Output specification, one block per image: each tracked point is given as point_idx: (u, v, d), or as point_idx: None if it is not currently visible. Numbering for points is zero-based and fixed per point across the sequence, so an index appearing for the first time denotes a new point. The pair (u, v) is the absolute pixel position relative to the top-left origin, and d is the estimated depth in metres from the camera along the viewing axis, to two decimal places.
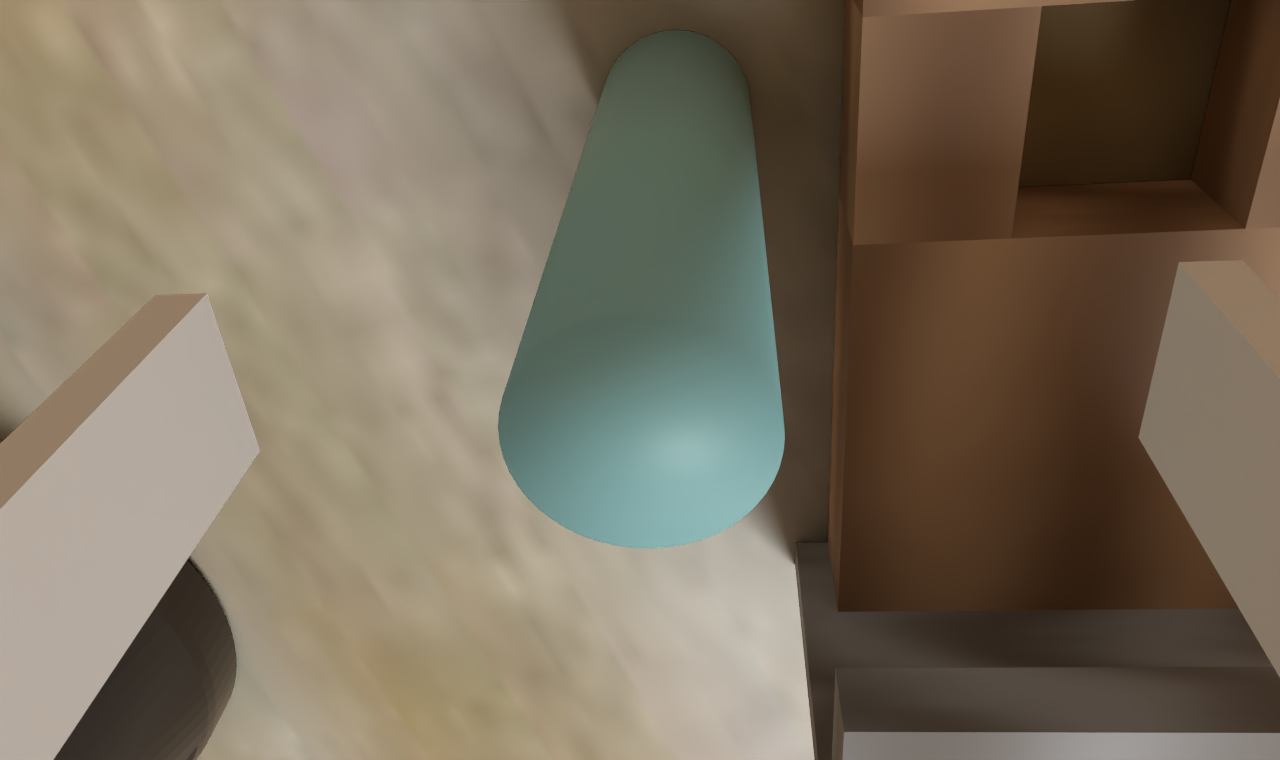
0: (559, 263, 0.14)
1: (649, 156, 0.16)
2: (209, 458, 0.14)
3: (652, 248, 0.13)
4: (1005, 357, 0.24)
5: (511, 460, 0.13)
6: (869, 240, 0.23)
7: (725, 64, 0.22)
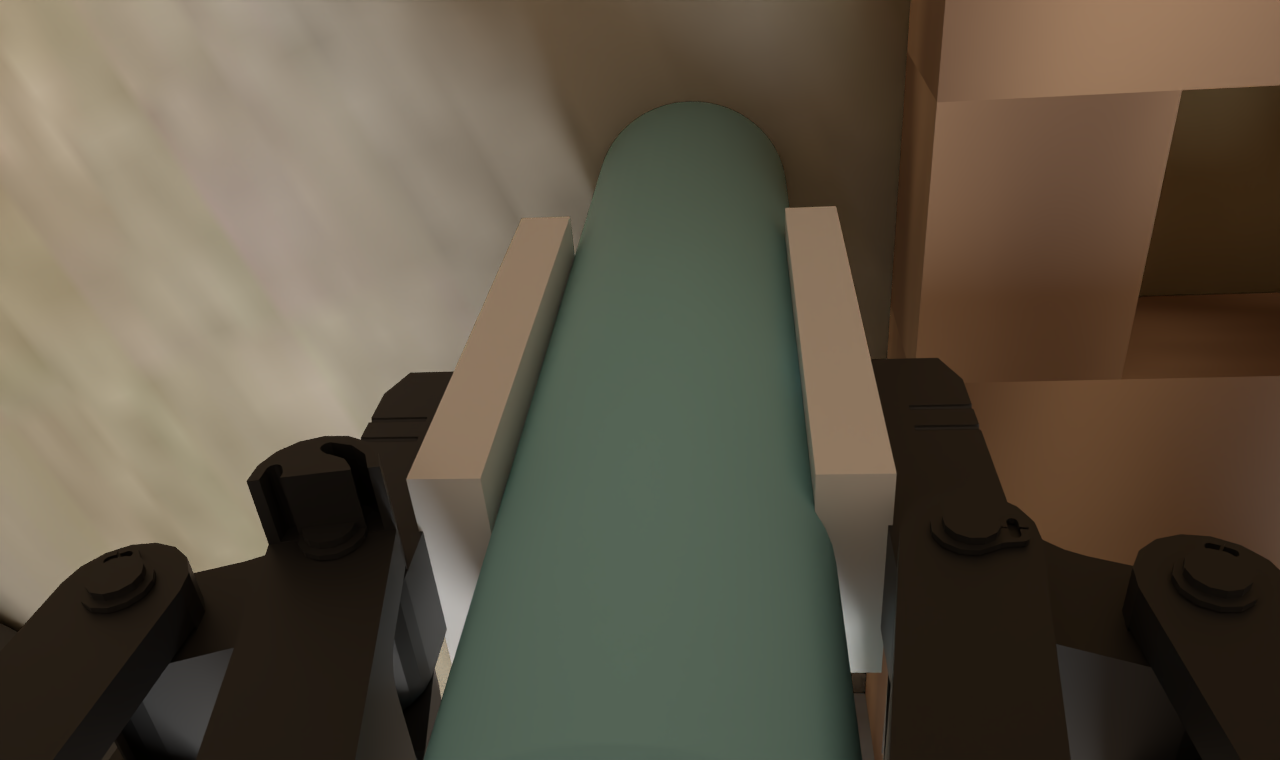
0: (511, 548, 0.09)
1: (654, 336, 0.11)
2: None
3: (656, 556, 0.08)
4: (1103, 518, 0.19)
5: None
6: None
7: (757, 151, 0.17)
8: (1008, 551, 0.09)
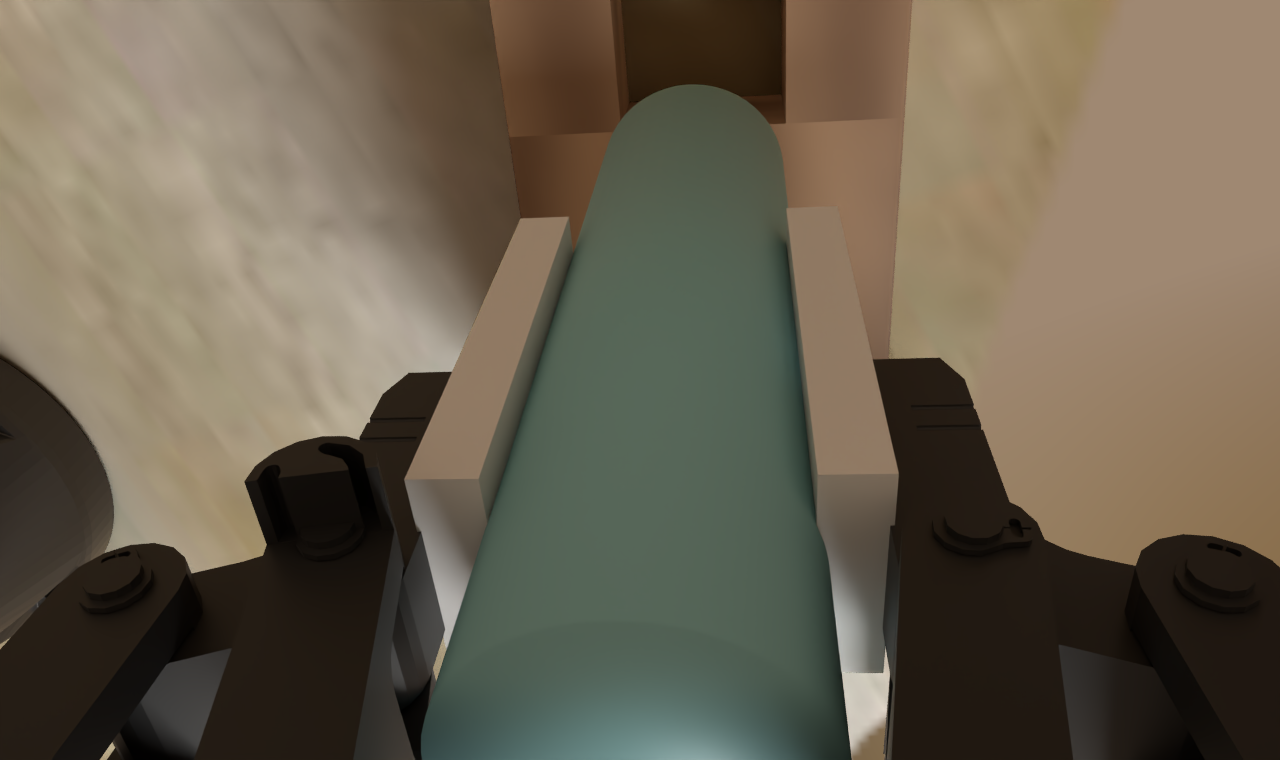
0: (523, 472, 0.10)
1: (655, 290, 0.12)
2: None
3: (655, 474, 0.09)
4: None
5: None
6: (520, 133, 0.31)
7: (755, 131, 0.18)
8: (1011, 551, 0.09)
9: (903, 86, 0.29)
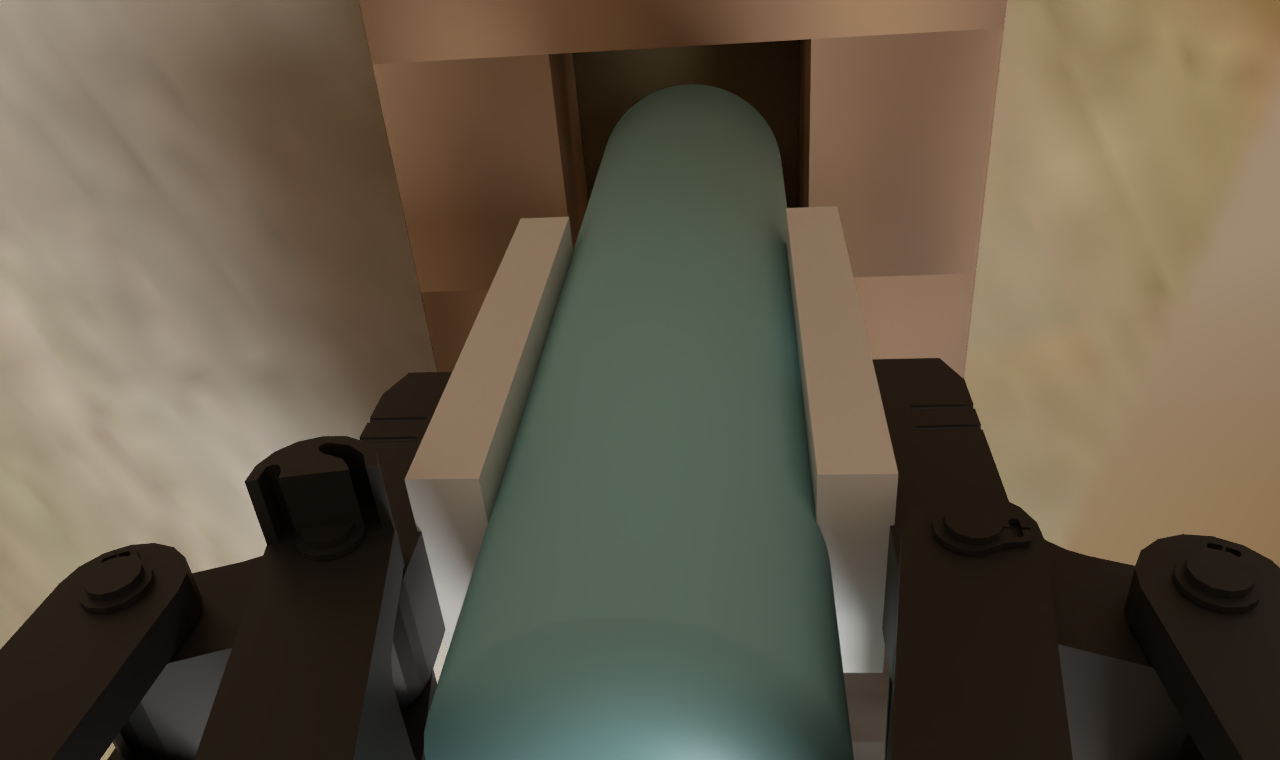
0: (525, 470, 0.10)
1: (655, 289, 0.12)
2: None
3: (656, 471, 0.09)
4: None
5: None
6: (435, 287, 0.22)
7: (753, 130, 0.18)
8: (1010, 551, 0.09)
9: (976, 232, 0.21)
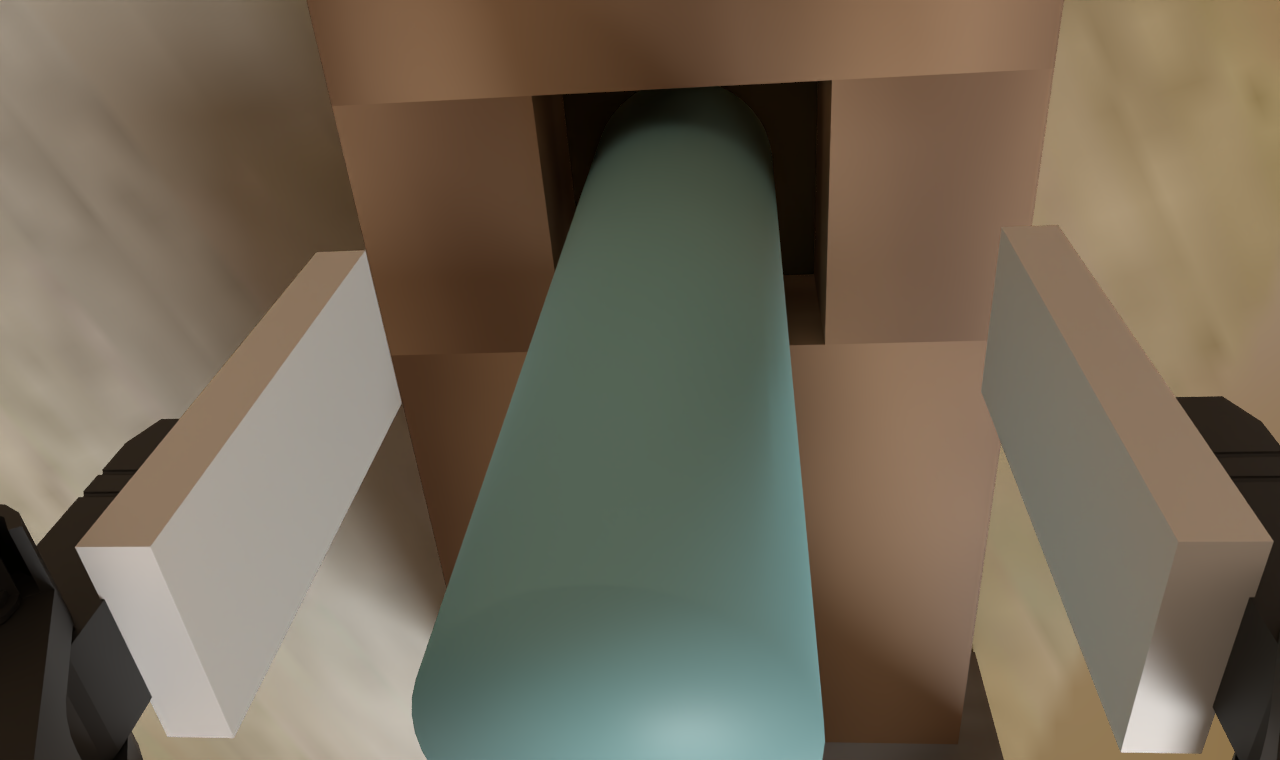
0: (512, 449, 0.10)
1: (641, 277, 0.12)
2: (368, 405, 0.15)
3: (638, 449, 0.09)
4: None
5: (432, 753, 0.09)
6: (407, 350, 0.20)
7: (744, 125, 0.18)
8: None
9: None
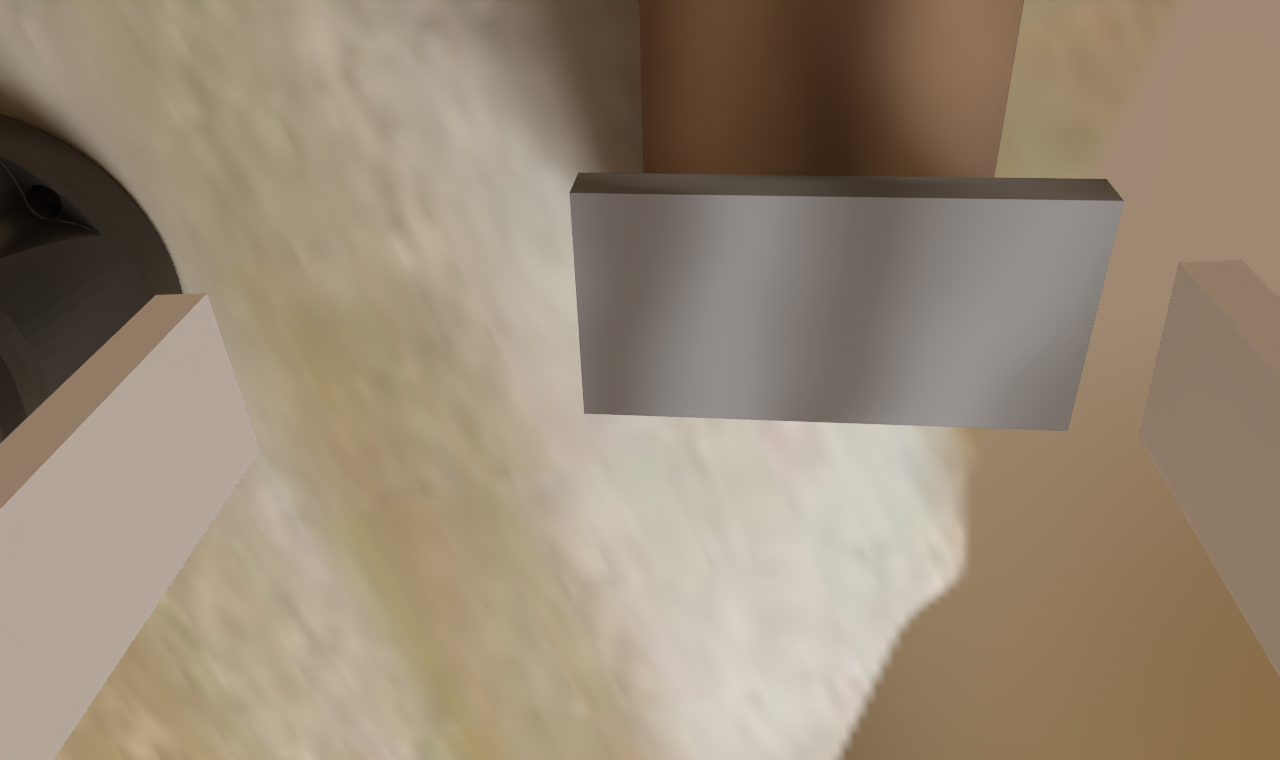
0: None
1: None
2: (209, 459, 0.14)
3: None
4: (754, 20, 0.32)
5: None
6: None
7: None
8: None
9: None
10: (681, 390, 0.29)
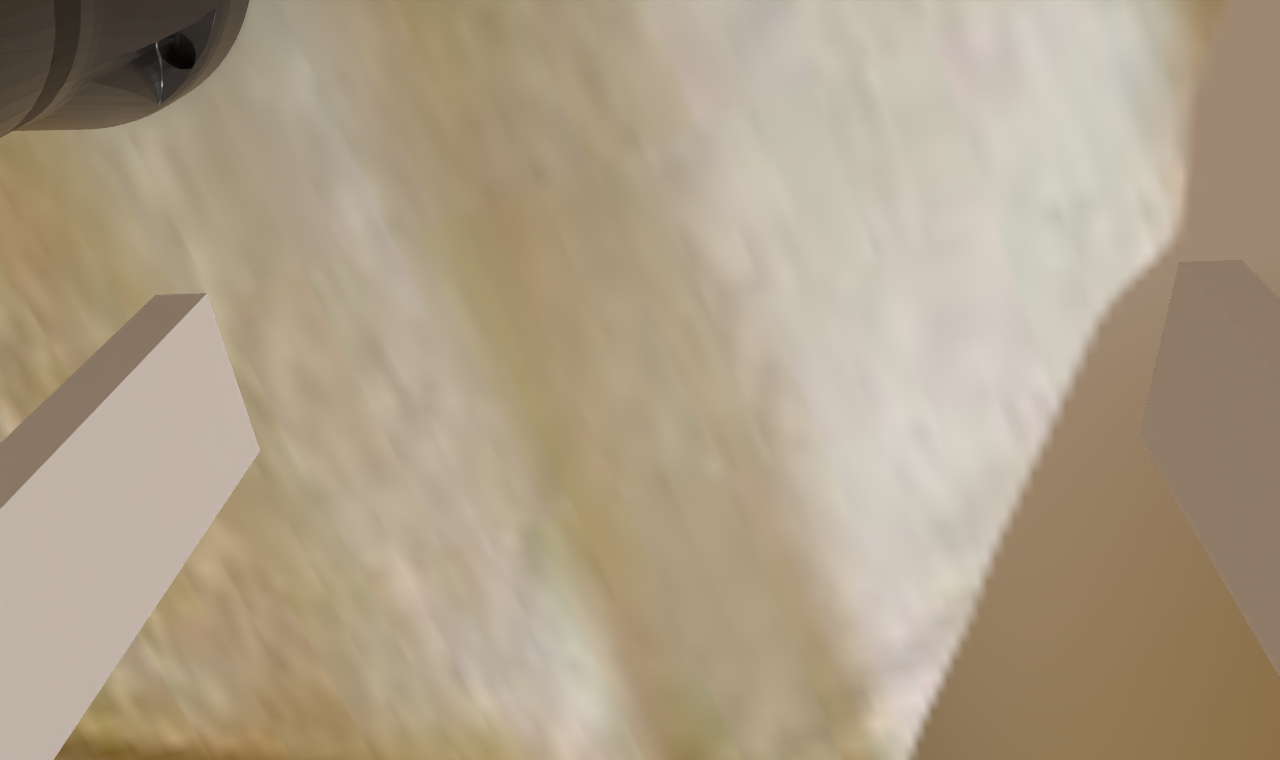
0: None
1: None
2: (209, 458, 0.14)
3: None
4: None
5: None
6: None
7: None
8: None
9: None
10: None
